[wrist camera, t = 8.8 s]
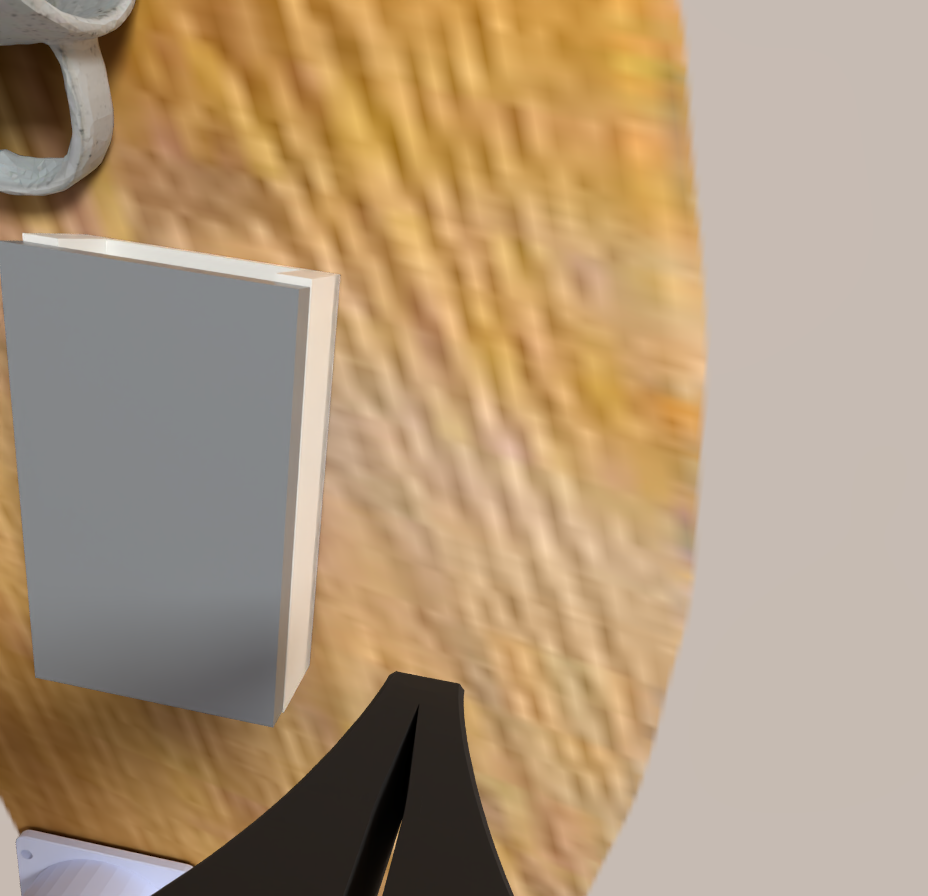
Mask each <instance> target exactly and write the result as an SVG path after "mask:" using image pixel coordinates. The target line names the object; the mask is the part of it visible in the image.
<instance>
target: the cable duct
mask: <svg viewBox="0 0 928 896" xmlns="http://www.w3.org/2000/svg"><path fill="white" fill-rule="evenodd" d="M23 241H26V242H33V243H39V244H45V245H51V246H57V247H64V248H70V249H76V250H82V251H89V252H95V253H101V254H107V255H113V256H120V257H126V258H132V259H138V260H144V261H151V262H157V263H163V264H169V265H176V266H182V267H188V268H194V269H200V270H207V271H213V272H219V273H225V274H231V275H238V276H244V277H250V278H256V279H263V280H269V281H275V282H281V283H287V284H294V285H300V286H306V287H310V298H309V314H308V329H307V344H306V360H305V375H304V391H303V406H302V422H301V437H300V453H299V468H298V484H297V499H296V514H295V530H294V545H293V561H292V576H291V592H290V607H289V623H288V638H287V653H286V669H285V684H284V700H283V711H282V712H283V713H284V711H285V709H286V708H287V706H288V704H289V702H290V700H291V698H292V697H293V695H294V693H295V691H296V689H297V687H298V685H299V684H300V682H301V680H302V678H303V676H304V674H305V673H306V671H307V669H308V667H309V665H310V653H311V640H312V628H313V615H314V602H315V590H316V577H317V564H318V552H319V539H320V526H321V514H322V501H323V488H324V476H325V463H326V451H327V438H328V425H329V413H330V400H331V387H332V375H333V362H334V349H335V337H336V324H337V311H338V299H339V286H340V274H334V273H328V272H321V271H315V270H309V269H302V268H296V267H290V266H283V265H277V264H271V263H264V262H258V261H252V260H245V259H239V258H233V257H226V256H220V255H214V254H207V253H201V252H195V251H189V250H182V249H176V248H170V247H163V246H157V245H151V244H144V243H138V242H132V241H125V240H119V239H113V238H106V237H100V236H94V235H87V234H50V233H23Z"/></svg>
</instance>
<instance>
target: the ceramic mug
mask: <svg viewBox="0 0 928 896" xmlns="http://www.w3.org/2000/svg"><path fill="white" fill-rule="evenodd" d="M135 1H136V0H0V46H4V45H15V44H34V43H45V44H47V45H49V47H50V48H51V49H52V51H53V52H54V54H55V56H56V58H57V59H58V61H59V63H60V66H61V70H62V73H63V77H64V84H65V90H66V94H67V98H68V103H69V109H70V116H71V124H72V133H73V134H72V138H71V142H70V146H69V150H68V153H67V155H66V156H65V157H64V158H34V157H28V156H21V155H17V154H15V153H13V152H11V151H9V150H7V149H3V150H0V192H3V193H7V194H12V195H33V196H46V195H50V194H54V193H58V192H62V191H65V190H66V189H68V188H70V187H71V186H72V185H74V184H75V183H77V182H78V181H80V180H81V179H82V178H84V177H85V176H87V175H88V174H89V173H91V172H92V171H93V170H95V169H96V168H97V167H98V166H99V165H100V164H101V163H102V160H103V158H104V156H105V154H106V152H107V149H108V147H109V145H110V143H111V139H112V133H113V128H114V112H113V104H112V99H111V93H110V88H109V82H108V77H107V72H106V67H105V63H104V60H103V57H102V53H101V50H100V47H99V43H98V37H100V36H103V35H106V34H108V33H110V32H112V31H114V30H116V29H117V28H118V27H120V26H121V25H122V23H123V22H124V21H125V20H126V18H127V17H128V16H129V14H130V13H131V11H132V9H133V7H134V4H135Z"/></svg>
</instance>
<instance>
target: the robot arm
mask: <svg viewBox="0 0 928 896" xmlns="http://www.w3.org/2000/svg"><path fill="white" fill-rule="evenodd" d="M401 821H402V823H401ZM400 824H401V827H400ZM399 827H400V831H399V835H398V839H397V842H396V846H395V850H394V854H393V858H392V862H391V865H390V869H389V873H388V877H387V880H386V884H385V888H384V892H383V895H382V896H514V895H513V893H512V890H511V888H510V885H509V883H508V880H507V878H506V875H505V873H504V870H503V867H502V865H501V862H500V859H499V857H498V854H497V851H496V848H495V846H494V843H493V840H492V837H491V834H490V830H489V827H488V824H487V821H486V817H485V814H484V811H483V807H482V804H481V800H480V797H479V793H478V789H477V785H476V781H475V776H474V772H473V767H472V763H471V758H470V753H469V748H468V742H467V735H466V728H465V720H464V689H463V688H462V687H461V685H460V684H458V683H453V682H448V681H442V680H437V679H432V678H427V677H422V676H417V675H412V674H407V673H402V672H397V671H396V672H394V673H392V674H391V675H389V677H388V678H387V680H386V682H385V683H384V685H383V686H382V688H381V689H380V691H379V692H378V693H377V695H376V696H375V698H374V699H373V700H372V702H371V703H370V704H369V706H368V707H367V708H366V709H365V711H364V712H363V713H362V714H361V716H360V717H359V718H358V719H357V721H356V722H355V723H354V724H353V725H352V726H351V727H350V729H349V730H348V731H347V732H346V733H345V734H344V736H343V737H342V738H341V739H340V740H339V741H338V743H337V744H336V745H335V746H334V747H333V748H332V749H331V750H330V751H329V752H328V753H327V754H326V755H325V756H324V757H323V758H322V759H321V760H320V761H319V762H318V764H317V765H316V766H315V767H314V768H313V769H312V770H311V771H310V772H309V773H308V774H307V775H306V776H305V777H304V778H303V779H302V780H301V781H300V782H299V783H298V784H296V785H295V786H294V787H293V788H292V789H291V790H290V791H289V792H288V793H287V794H286V795H285V796H284V797H282V798H281V799H280V800H279V801H278V802H277V803H276V804H274V805H273V806H272V807H271V808H270V809H269V810H268V811H266V812H265V813H264V814H263V815H262V816H261V817H259V818H258V819H257V820H256V821H254V822H253V823H252V824H251V825H249V826H248V827H247V828H246V829H244V830H243V831H242V832H240V833H239V834H238V835H237V836H235V837H234V838H233V839H232V840H230V841H229V842H228V843H226V844H225V845H224V846H222V847H221V848H220V849H218V850H217V851H216V852H214V853H213V854H212V855H210V856H209V857H207V858H206V859H205V860H203V861H202V862H200V863H199V864H197V865H196V866H194V867H193V866H191V865H189V864H185V863H180V862H176V861H171V860H167V859H162V858H157V857H153V856H148V855H144V854H139V853H135V852H130V851H126V850H121V849H117V848H112V847H108V846H103V845H98V844H94V843H89V842H85V841H80V840H76V839H71V838H67V837H62V836H58V835H53V834H48V833H44V832H39V831H35V830H25V831H23V832H22V833H21V834H20V836H19V837H18V838H17V839H16V849H17V859H18V868H19V877H20V886H21V895H22V896H377V895H378V892H379V889H380V886H381V883H382V880H383V876H384V873H385V870H386V867H387V864H388V861H389V858H390V855H391V852H392V849H393V846H394V842H395V839H396V836H397V833H398V830H399Z"/></svg>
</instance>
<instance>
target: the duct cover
mask: <svg viewBox="0 0 928 896" xmlns="http://www.w3.org/2000/svg"><path fill="white" fill-rule="evenodd" d="M0 275H1V286H2V298H3V309H4V321H5V332H6V344H7V355H8V367H9V378H10V390H11V402H12V413H13V425H14V436H15V448H16V459H17V471H18V482H19V494H20V506H21V517H22V529H23V540H24V552H25V563H26V575H27V586H28V598H29V609H30V621H31V633H32V644H33V656H34V667H35V678H40V679H45V680H50V681H54V682H59V683H64V684H69V685H73V686H78V687H83V688H88V689H92V690H97V691H102V692H107V693H112V694H116V695H121V696H126V697H131V698H135V699H140V700H145V701H150V702H154V703H159V704H164V705H169V706H173V707H178V708H183V709H188V710H192V711H197V712H202V713H207V714H211V715H216V716H221V717H226V718H230V719H235V720H240V721H245V722H249V723H254V724H259V725H264V726H269V727H274V725H275V723H276V721H277V719H278V718H279V716H280V714H281V712H282V711H283V700H284V684H285V669H286V653H287V638H288V623H289V607H290V592H291V576H292V561H293V545H294V530H295V514H296V499H297V484H298V468H299V453H300V437H301V422H302V406H303V391H304V375H305V360H306V344H307V329H308V314H309V298H310V287H306V286H300V285H294V284H287V283H281V282H275V281H269V280H263V279H256V278H250V277H244V276H238V275H231V274H225V273H219V272H213V271H207V270H200V269H194V268H188V267H182V266H176V265H169V264H163V263H157V262H151V261H144V260H138V259H132V258H126V257H120V256H113V255H107V254H101V253H95V252H89V251H82V250H76V249H70V248H64V247H57V246H51V245H45V244H39V243H33V242H26V241H0Z"/></svg>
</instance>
